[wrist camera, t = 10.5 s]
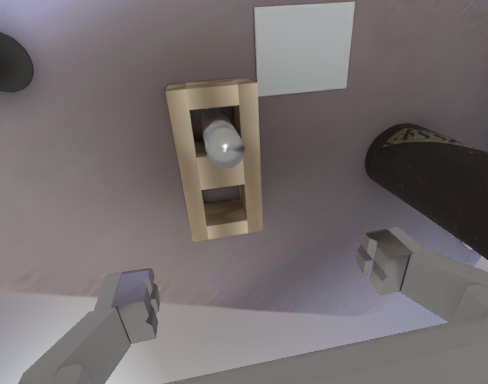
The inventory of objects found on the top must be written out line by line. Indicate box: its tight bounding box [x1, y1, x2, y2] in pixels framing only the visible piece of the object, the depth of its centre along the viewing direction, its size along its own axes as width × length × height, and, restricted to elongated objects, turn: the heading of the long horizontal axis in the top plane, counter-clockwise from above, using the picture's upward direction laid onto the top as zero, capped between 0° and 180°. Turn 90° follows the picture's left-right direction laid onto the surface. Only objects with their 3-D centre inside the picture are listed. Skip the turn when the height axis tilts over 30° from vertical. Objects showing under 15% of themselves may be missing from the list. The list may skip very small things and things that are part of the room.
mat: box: [254, 2, 355, 97], centre depth 29 cm, size 10×8×1 cm
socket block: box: [165, 77, 263, 242], centre depth 31 cm, size 8×16×5 cm, turn 4°
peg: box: [200, 108, 245, 169], centre depth 27 cm, size 3×3×10 cm
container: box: [366, 124, 488, 260], centre depth 29 cm, size 9×9×20 cm
